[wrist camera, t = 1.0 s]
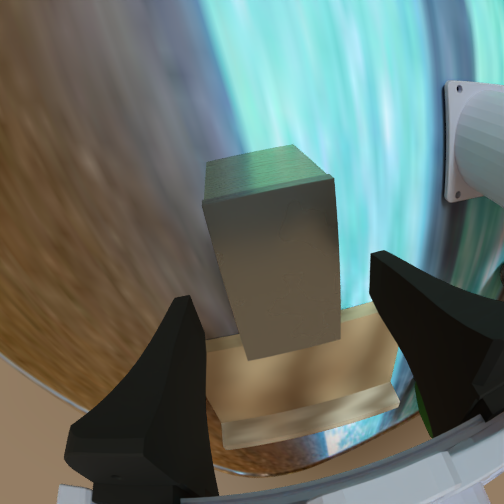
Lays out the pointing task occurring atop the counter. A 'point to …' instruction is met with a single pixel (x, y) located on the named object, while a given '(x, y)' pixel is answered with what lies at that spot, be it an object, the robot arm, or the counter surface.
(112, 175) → the counter surface
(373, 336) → the shelf board
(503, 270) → the perforated stone tool
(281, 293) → the tea tin
